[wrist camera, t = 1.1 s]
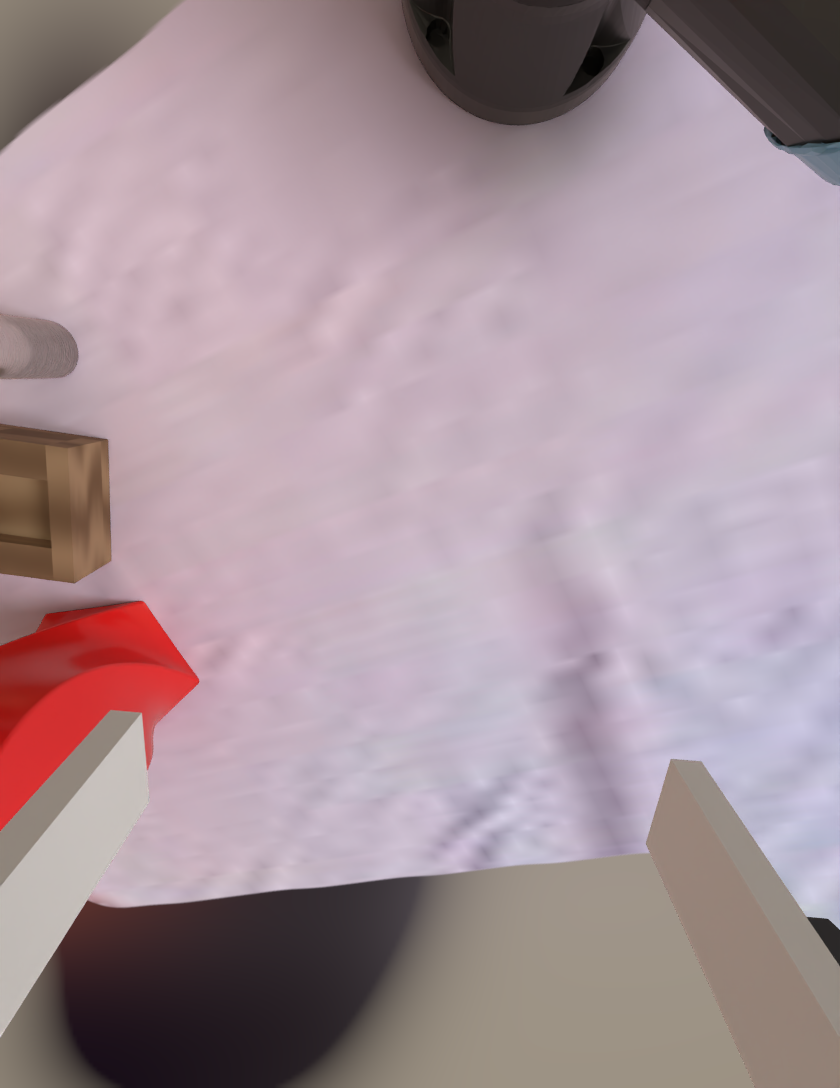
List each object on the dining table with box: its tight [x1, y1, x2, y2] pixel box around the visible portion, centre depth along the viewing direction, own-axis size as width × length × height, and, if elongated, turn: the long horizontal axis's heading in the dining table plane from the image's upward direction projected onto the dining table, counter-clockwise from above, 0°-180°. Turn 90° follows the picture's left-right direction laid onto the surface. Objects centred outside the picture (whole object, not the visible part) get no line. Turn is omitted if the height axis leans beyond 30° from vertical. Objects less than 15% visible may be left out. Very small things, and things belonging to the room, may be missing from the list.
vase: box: [0, 601, 199, 831], centre depth 34 cm, size 15×14×28 cm
